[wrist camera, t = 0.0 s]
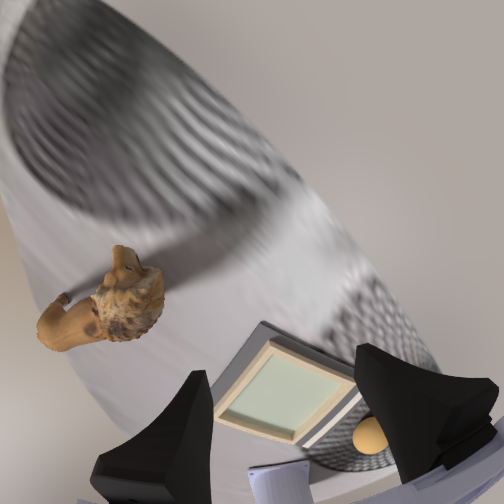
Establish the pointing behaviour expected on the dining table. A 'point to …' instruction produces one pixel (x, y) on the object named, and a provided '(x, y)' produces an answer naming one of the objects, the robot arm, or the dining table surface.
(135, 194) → the dining table surface
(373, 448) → the ball
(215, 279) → the dining table surface
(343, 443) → the dining table surface
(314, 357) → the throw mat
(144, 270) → the lion figurine
